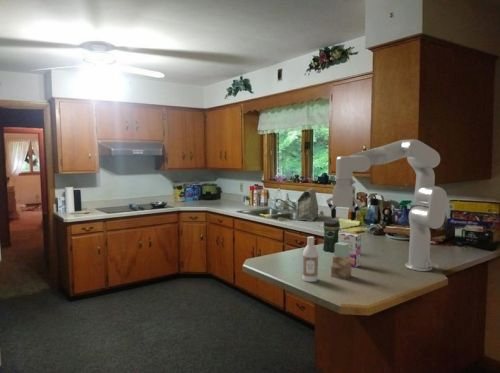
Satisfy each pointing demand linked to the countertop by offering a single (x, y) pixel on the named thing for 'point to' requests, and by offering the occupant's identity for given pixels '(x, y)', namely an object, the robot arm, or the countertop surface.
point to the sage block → (341, 249)
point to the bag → (307, 206)
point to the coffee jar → (330, 234)
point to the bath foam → (310, 262)
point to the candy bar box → (352, 247)
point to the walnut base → (341, 272)
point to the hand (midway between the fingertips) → (343, 218)
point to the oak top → (341, 262)
